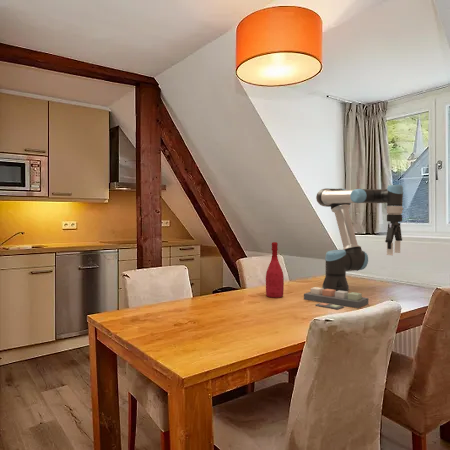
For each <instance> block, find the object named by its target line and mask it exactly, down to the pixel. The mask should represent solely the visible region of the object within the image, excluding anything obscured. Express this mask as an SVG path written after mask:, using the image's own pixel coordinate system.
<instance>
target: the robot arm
mask: <svg viewBox="0 0 450 450" xmlns="http://www.w3.org/2000/svg"><path fill="white" fill-rule="evenodd" d="M403 190H404V187H403V185H401V184H390V185H388V186H387V188H386V189H384V188H383V189H380V188H379V189H375V188H370V189H369V188H368V189H367V188H355V189H345V188H322V189H320V190H319V191H318V192H317V193H316V197H315V199H316V202H317V203H318V205H320V206H322V207H325V208H327V207H329V208H330V209H331V212H332V213H334V216H335V220H336V224H337V227H338V231H339V235H340V239H341V243H342V247H343V248H342V249H331V250H328V251H326V253H325V259H324V260H325V276H324V280H323V283H322V288H324V289H333V290H336V291H339V290H340V291H348V292H349V290H350V287H349V282H348V279H347V278H346V277H347V276H346V275H347V274H346V272H355V271H356V272H357V271H362V270H364V269H366V268H367V266H368V264H369V256H368V255H369V254H368V253H367V252H366V251H364V250H362V246H360V245H359V244H358V242H357V237H356V234H355V229H354V226H353V222H352V218H351V215H350V212H349V209H350V207H351V204H386V214H387V215H386V221H387V222H389V223H387V230H386V236H385V237H386V238H385V240H384V242H385V243H386V256H393V254H395V253H396V254H401V242H403V236H402V229H401V223H400V222H403V210H404V207H403V203H404V202H403V199H404V198H403V197H404V191H403ZM394 238H395V239H394ZM393 241H394V242H393ZM393 246H394V247H393ZM393 249H394V250H393ZM393 251H394V253H393Z"/></svg>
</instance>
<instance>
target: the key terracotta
mask: <svg viewBox="0 0 450 450" xmlns="http://www.w3.org/2000/svg"><path fill="white" fill-rule="evenodd" d="M335 292H336V290H333V289H324V290H322V295H324V296H331V297H332V296H335Z"/></svg>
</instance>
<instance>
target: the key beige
mask: <svg viewBox="0 0 450 450" xmlns="http://www.w3.org/2000/svg"><path fill="white" fill-rule="evenodd" d="M348 293H349V290H348V291H340V290H339V291H336V292H335V297H337V298H344V299H345V298H347V297H348Z"/></svg>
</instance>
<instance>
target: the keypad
mask: <svg viewBox="0 0 450 450" xmlns="http://www.w3.org/2000/svg"><path fill="white" fill-rule="evenodd" d="M303 300H305V301H310V302H311V301H313V302H318V303H327V304H333V305H339V306H344V307H348V308H352V309H353V308H354V309H361V308H363V307H365V306H367V305H369V297H364V296H362V299H361V300H358V301H357V300H350V299H348V297H347V298H345V299H344V298H337V297H335V296H332V297H331V296H324V295H322V294H320V295H318V294H311V291H308V292H305V293H303Z"/></svg>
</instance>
